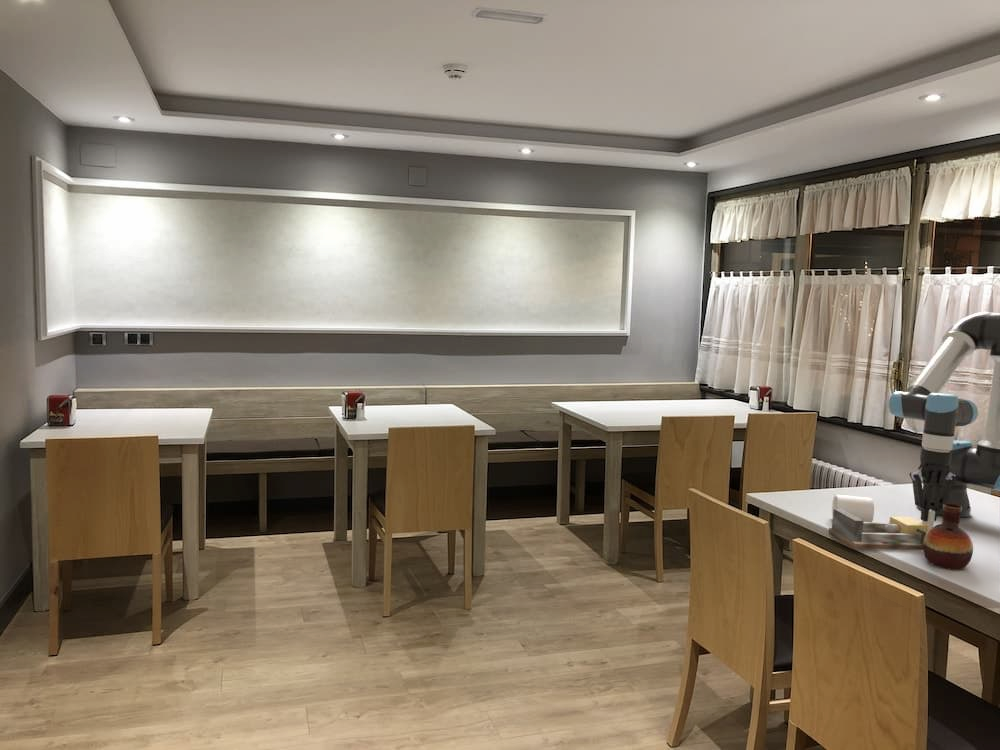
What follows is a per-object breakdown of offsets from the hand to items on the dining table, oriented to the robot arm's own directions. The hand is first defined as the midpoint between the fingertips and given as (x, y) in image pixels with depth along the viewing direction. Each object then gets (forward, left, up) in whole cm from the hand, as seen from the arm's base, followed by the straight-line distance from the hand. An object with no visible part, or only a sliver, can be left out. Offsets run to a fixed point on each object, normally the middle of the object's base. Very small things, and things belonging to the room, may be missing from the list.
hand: (926, 532), depth 216 cm
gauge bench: (+13, 0, -3) cm, 13 cm away
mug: (+12, -19, -3) cm, 23 cm away
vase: (+7, +18, -3) cm, 19 cm away
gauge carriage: (+7, +2, -1) cm, 7 cm away
